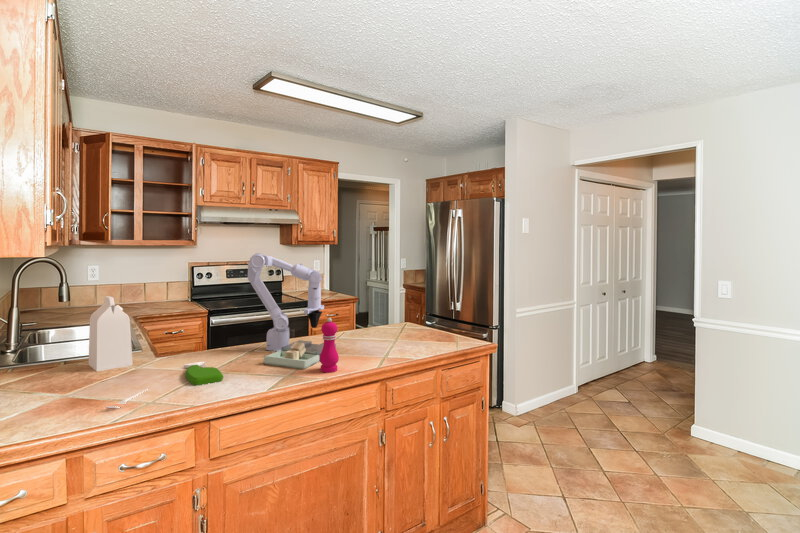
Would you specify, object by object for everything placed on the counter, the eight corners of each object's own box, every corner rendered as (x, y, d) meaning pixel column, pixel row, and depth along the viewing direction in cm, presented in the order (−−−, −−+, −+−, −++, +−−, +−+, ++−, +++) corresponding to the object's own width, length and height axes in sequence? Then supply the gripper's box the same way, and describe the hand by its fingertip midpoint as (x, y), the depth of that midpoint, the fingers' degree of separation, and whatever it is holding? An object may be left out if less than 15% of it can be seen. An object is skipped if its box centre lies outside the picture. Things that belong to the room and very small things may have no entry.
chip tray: (264, 364, 172) (264, 356, 172) (281, 356, 182) (281, 349, 182) (304, 369, 166) (304, 361, 166) (319, 361, 177) (319, 353, 177)
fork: (155, 390, 143) (155, 384, 143) (114, 412, 123) (114, 406, 123) (145, 389, 143) (146, 384, 143) (102, 412, 123) (102, 405, 123)
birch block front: (290, 359, 177) (284, 362, 173) (290, 349, 176) (284, 352, 173) (299, 360, 175) (293, 363, 172) (299, 350, 175) (293, 353, 171)
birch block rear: (292, 356, 178) (290, 347, 176) (297, 350, 181) (295, 342, 179) (301, 357, 176) (299, 348, 175) (305, 351, 180) (304, 343, 178)
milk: (88, 364, 166) (86, 296, 165) (123, 358, 175) (121, 294, 173) (96, 371, 158) (95, 300, 157) (132, 365, 167) (131, 297, 165)
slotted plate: (281, 356, 183) (281, 347, 183) (299, 348, 196) (299, 340, 196) (319, 361, 177) (319, 351, 177) (335, 353, 190) (335, 344, 190)
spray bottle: (191, 387, 145) (177, 370, 164) (226, 381, 151) (207, 365, 171) (191, 379, 144) (176, 362, 164) (226, 373, 151) (207, 358, 171)
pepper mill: (342, 370, 166) (343, 318, 165) (327, 374, 160) (327, 320, 159) (330, 366, 171) (331, 315, 169) (315, 370, 165) (315, 317, 164)
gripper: (314, 300, 189) (313, 331, 189) (330, 296, 202) (329, 325, 203) (299, 299, 191) (299, 329, 192) (316, 295, 205) (316, 324, 205)
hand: (314, 327), depth 198 cm, fingers closed
